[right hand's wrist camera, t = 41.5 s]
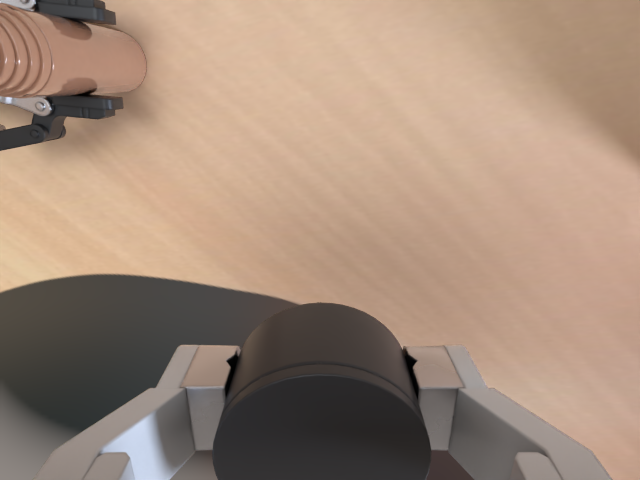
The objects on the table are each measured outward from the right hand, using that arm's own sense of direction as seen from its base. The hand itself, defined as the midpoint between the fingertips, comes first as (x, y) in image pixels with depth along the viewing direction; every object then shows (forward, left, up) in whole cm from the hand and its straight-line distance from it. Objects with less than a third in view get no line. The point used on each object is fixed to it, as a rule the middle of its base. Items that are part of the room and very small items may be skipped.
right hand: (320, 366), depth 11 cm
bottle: (+18, 0, -27) cm, 32 cm away
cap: (0, 0, +2) cm, 3 cm away
